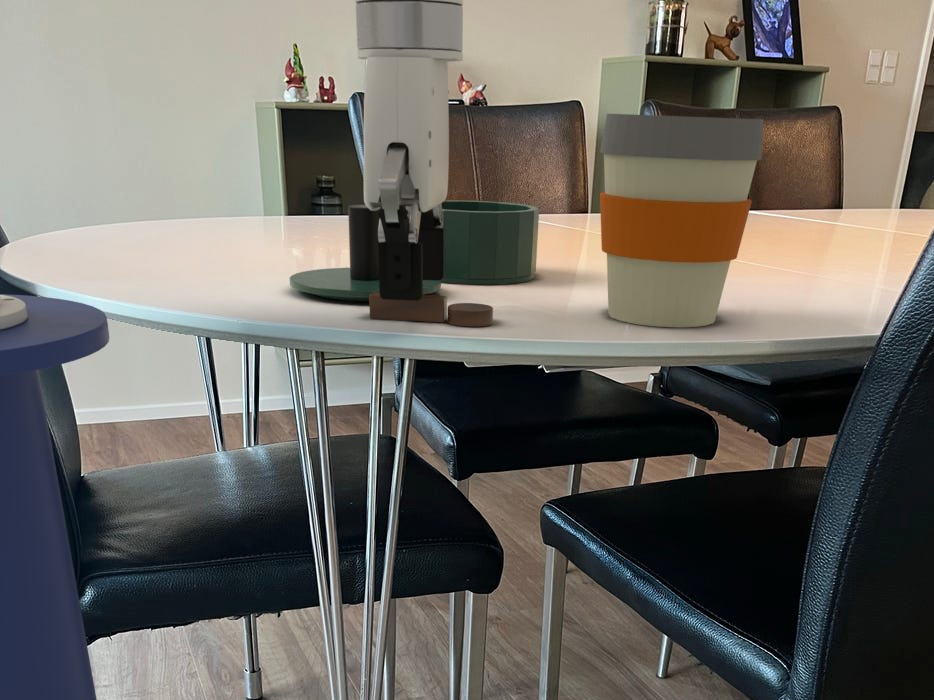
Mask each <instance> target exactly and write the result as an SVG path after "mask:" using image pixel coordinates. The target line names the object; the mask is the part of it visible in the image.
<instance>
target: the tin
mask: <svg viewBox="0 0 934 700" xmlns="http://www.w3.org/2000/svg"><path fill="white" fill-rule="evenodd" d="M441 204H442V212H443V226H442V228H444V277H443V279H441V283H446V284H456V285H457V284H458V285H474V286H475V285H479V286H480V285H485V286H486V285H487V286H488V285H489V286H491V285H493V286H494V285H512V284H519V283H520V284H521V283H526V282H529V281H532V280H534V279H535V273H537V258H538V257H537V256H538V237H539V220H540V208H538V207H536V206H533V205H528V204H523V203H515V202H503V201H485V200H459V199H458V200H457V199H456V200H452V199H451V200H444V201H443V202H442V203H441ZM436 228H439V227H436Z"/></svg>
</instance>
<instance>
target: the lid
mask: <svg viewBox="0 0 934 700" xmlns="http://www.w3.org/2000/svg"><path fill="white" fill-rule="evenodd" d="M347 210H348V213H347V214H348V215H347V216H348V237H349V238H348V243H349V244H348V245H349V249H348V251H349V267H331V268H319V269H311V270H305V271H300V272H297V273H294V274H292V275H291V276H289V285H290V287H291V288H292V289H294V290H296V291H298V292H303V293H308V294H312V295H315V296H317V297H321V298H325V299H329V300H336V301H347V302H364V303H365V302H367V303H368V302H369V296H370V295H371V294H372V293H374V292H379V261H378V242H379V240H378V227H379V219H380V218H379V217H378V212H379V210H377V211H371V210H370V209H369V208H368V207H367V206H366V205H365V204H352V205H348V208H347ZM441 288H442V282H441V280H423V295H430V294H433V293H435V292H438V291H439V290H441Z"/></svg>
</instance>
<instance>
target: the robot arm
mask: <svg viewBox="0 0 934 700" xmlns="http://www.w3.org/2000/svg"><path fill="white" fill-rule="evenodd" d="M463 6H464V0H355V24H356V49H357V50H356V51H357V59H359V60H366V66H365V78H364V96H363V202H364V205H366V206H367V207H368V208H369V209H370V210H371V211H377V210H379V212H378V217H379V218H380V219H379V227H378V240H379V242H378V261H379V294H380V297H381V298H382V299H385V300H410V301H418V300H420V299H421V298H422V296H423V280H441V279H443V277H444V228H442V226H443V212H442V204H441V203H442V202H443V201H446V199H447V196H448V190H449V188H448V187H449V169H450V167H449V166H450V165H449V164H450V122H449V121H450V120H449V119H450V116H449V114H450V113H449V112H450V111H449V110H450V109H449V93H450V91H449V73H448V70H449V69H448V63H449V62H463V57H464V55H463V31H464V30H463V28H464V27H463V24H464V23H463V22H464V21H463V20H464V15H463V14H464V13H463V12H464V11H463V10H464V9H463V8H464V7H463ZM436 227H439V228H436ZM27 317H28V314H27V310H26V305H25V303H24V302H23V301H21V300H20V299H17V298H14V297H10V296H5V295H0V330H4V329H8V328H12V327H14V326H17V325H19V324H21V323H23V322H24V321H26V319H27Z"/></svg>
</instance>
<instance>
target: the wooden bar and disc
mask: <svg viewBox="0 0 934 700" xmlns="http://www.w3.org/2000/svg"><path fill="white" fill-rule="evenodd" d="M369 318H370V319H373V320H374V319H376V320H389V321H390V320H393V321H408V322H422V323H423V322H425V323H445V321H447V323H448V324H450V325H452V326H453V325H454V326H457V327H458V326H459V327H467V328H468V327H470V328H476V327H477V328H479V327H486V326H487V327H488V326H491V325H492V324H493V323H494V307H493V306H492V305H489V304H485V303H477V302H476V303H475V302H459V303H457V302H456V303H452V304H449V305H448V296H446V295H435V294H424V295H423V296H422V298H421V299H420V300H418V301H410V300H385V299H382V298H381V297H380V294H379V292H374V293H372V294H371V295H370V296H369Z"/></svg>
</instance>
